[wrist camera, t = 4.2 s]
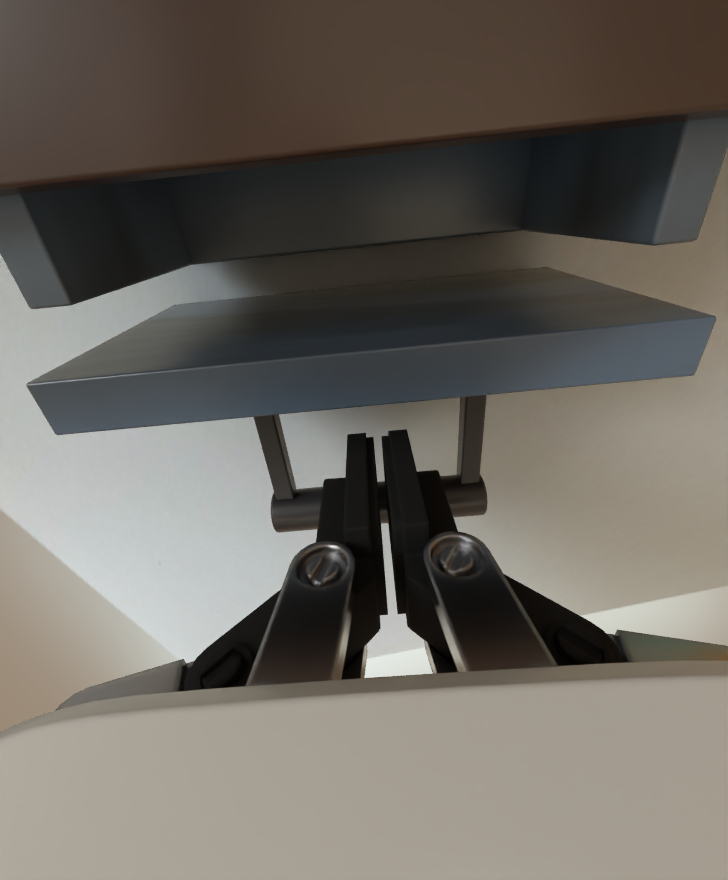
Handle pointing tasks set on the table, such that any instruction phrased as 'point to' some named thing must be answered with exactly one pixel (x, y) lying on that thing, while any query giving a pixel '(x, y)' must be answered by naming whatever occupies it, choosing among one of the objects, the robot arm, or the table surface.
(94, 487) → the table surface
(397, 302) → the drawer
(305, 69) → the cabinet
